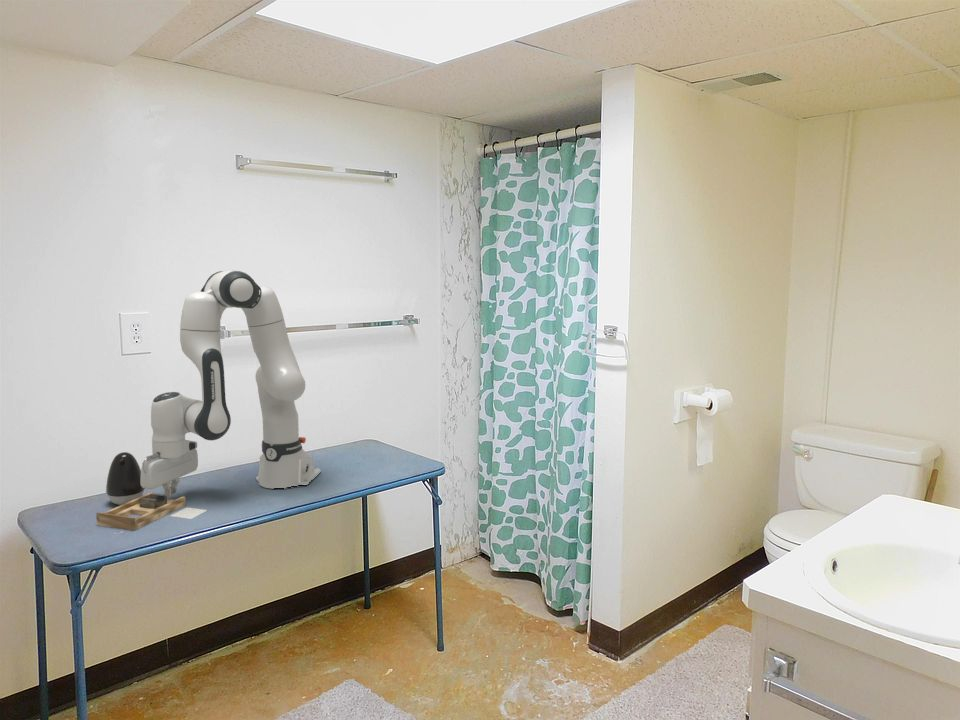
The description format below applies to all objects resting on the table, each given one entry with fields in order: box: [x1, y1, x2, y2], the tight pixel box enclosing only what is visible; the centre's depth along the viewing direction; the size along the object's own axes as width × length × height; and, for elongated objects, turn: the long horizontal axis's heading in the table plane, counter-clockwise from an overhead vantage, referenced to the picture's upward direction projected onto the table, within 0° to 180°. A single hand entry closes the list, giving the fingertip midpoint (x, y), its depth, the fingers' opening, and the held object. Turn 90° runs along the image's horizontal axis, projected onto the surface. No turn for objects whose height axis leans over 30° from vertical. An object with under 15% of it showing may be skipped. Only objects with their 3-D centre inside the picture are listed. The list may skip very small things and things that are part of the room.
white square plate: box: [170, 507, 208, 520], centre depth 197 cm, size 7×7×1 cm
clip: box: [139, 492, 168, 509], centre depth 198 cm, size 5×5×2 cm
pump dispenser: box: [105, 451, 145, 506], centre depth 206 cm, size 10×10×15 cm
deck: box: [95, 491, 187, 531], centre depth 195 cm, size 20×12×4 cm, turn 164°
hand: (171, 494), depth 205 cm, fingers closed
